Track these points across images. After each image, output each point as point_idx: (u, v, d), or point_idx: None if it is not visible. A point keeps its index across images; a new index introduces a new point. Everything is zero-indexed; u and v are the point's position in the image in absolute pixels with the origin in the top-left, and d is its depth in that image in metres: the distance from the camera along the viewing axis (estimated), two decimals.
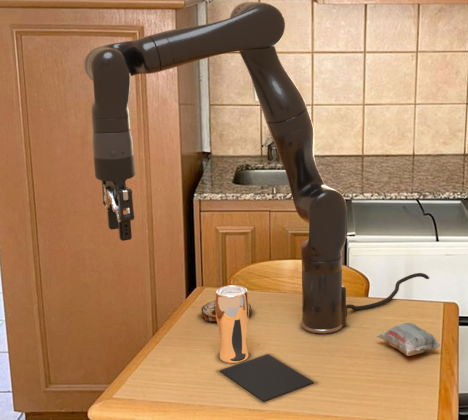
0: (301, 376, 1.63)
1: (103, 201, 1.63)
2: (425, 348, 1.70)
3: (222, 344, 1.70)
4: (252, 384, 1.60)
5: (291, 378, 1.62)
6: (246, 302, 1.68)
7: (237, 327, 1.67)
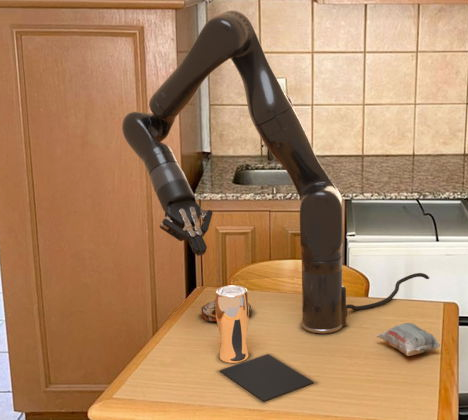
0: (301, 376, 1.63)
1: None
2: (425, 348, 1.70)
3: (222, 344, 1.70)
4: (252, 384, 1.60)
5: (291, 378, 1.62)
6: (246, 302, 1.68)
7: (237, 327, 1.67)
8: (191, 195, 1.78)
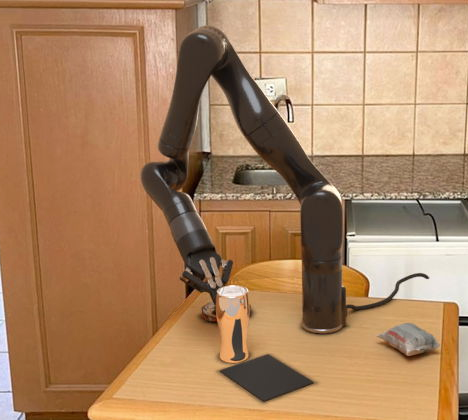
0: (301, 376, 1.63)
1: None
2: (425, 348, 1.70)
3: (222, 344, 1.70)
4: (252, 384, 1.60)
5: (291, 378, 1.62)
6: (247, 303, 1.67)
7: (237, 327, 1.67)
8: (211, 245, 1.76)
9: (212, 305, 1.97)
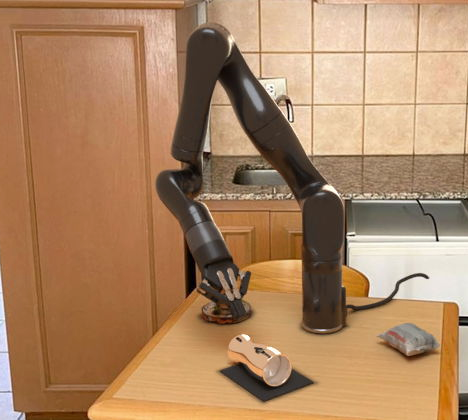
0: (301, 376, 1.63)
1: None
2: (425, 348, 1.70)
3: (237, 355, 1.65)
4: (252, 384, 1.60)
5: (291, 378, 1.62)
6: None
7: None
8: (229, 256, 1.70)
9: (212, 305, 1.97)
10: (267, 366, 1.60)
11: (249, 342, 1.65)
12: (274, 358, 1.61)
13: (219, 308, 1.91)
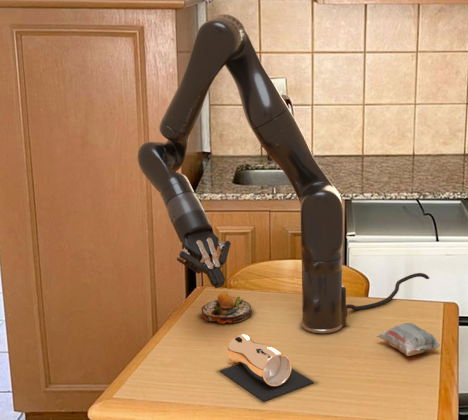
0: (301, 376, 1.63)
1: None
2: (425, 348, 1.70)
3: (237, 355, 1.65)
4: (252, 384, 1.60)
5: (291, 378, 1.62)
6: None
7: None
8: (208, 226, 1.75)
9: (212, 305, 1.97)
10: (267, 366, 1.60)
11: (249, 342, 1.65)
12: (274, 358, 1.61)
13: (219, 308, 1.91)
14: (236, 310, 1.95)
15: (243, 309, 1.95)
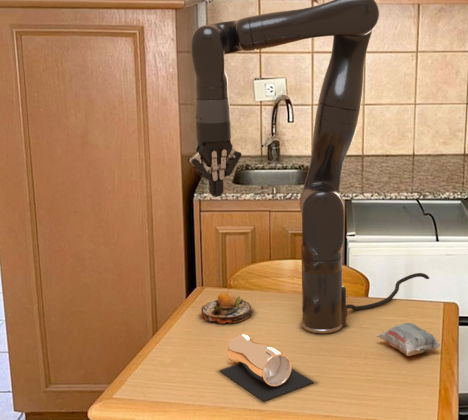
0: (301, 376, 1.63)
1: None
2: (425, 348, 1.70)
3: (237, 355, 1.65)
4: (252, 384, 1.60)
5: (291, 378, 1.62)
6: None
7: None
8: (228, 140, 1.76)
9: (212, 305, 1.97)
10: (267, 366, 1.60)
11: (249, 342, 1.65)
12: (274, 358, 1.61)
13: (219, 308, 1.91)
14: (236, 310, 1.95)
15: (243, 309, 1.95)
